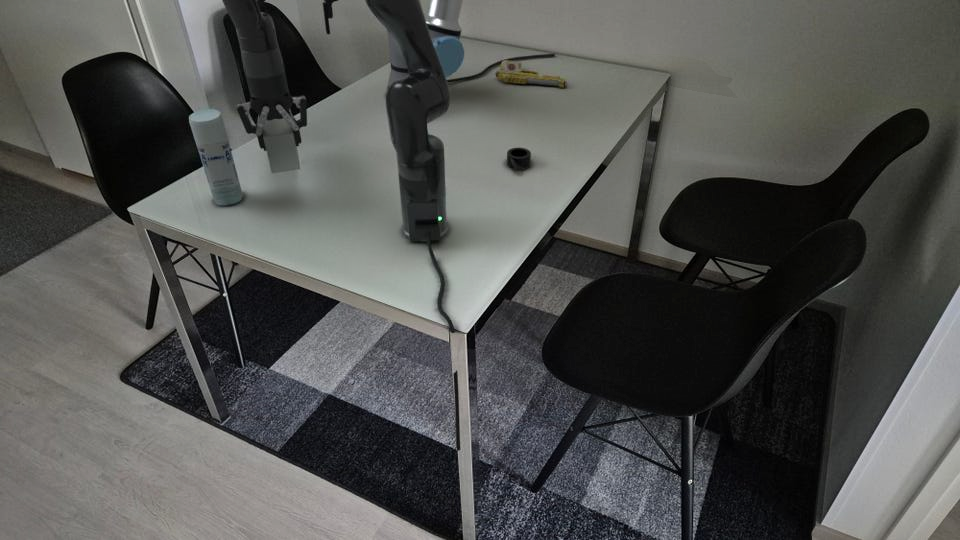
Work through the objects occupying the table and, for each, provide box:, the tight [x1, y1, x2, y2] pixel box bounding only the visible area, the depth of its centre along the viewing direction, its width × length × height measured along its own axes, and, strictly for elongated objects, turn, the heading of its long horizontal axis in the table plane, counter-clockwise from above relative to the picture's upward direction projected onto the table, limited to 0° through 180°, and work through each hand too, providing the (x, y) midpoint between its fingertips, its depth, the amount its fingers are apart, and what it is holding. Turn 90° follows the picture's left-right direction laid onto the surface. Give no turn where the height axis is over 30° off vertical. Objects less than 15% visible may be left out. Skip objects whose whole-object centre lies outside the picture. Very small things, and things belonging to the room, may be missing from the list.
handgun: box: [494, 59, 567, 89], centre depth 199 cm, size 2×23×15 cm
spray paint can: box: [188, 108, 244, 206], centre depth 136 cm, size 6×6×20 cm
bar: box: [263, 108, 301, 174], centre depth 141 cm, size 28×6×8 cm, turn 17°
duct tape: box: [506, 147, 532, 171], centre depth 154 cm, size 8×10×3 cm
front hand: (281, 146), depth 134 cm, fingers closed on bar, 6 cm apart
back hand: (298, 34), depth 147 cm, fingers open, 13 cm apart
